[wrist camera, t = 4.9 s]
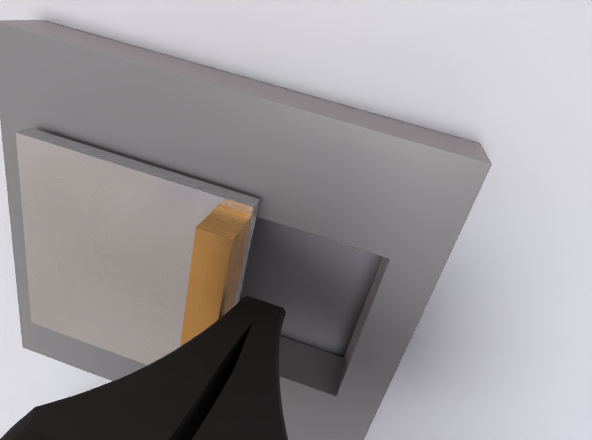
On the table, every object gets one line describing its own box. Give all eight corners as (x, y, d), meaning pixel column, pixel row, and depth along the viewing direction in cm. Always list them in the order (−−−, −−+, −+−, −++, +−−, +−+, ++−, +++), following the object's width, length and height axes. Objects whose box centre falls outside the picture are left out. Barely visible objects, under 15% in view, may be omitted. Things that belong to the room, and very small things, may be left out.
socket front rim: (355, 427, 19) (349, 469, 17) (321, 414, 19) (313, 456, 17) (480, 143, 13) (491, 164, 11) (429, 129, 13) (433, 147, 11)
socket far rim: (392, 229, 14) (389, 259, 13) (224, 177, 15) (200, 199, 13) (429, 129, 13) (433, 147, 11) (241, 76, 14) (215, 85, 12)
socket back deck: (194, 368, 20) (173, 403, 18) (56, 318, 20) (22, 347, 19) (241, 76, 14) (215, 85, 12) (42, 20, 14) (-10, 20, 13)
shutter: (223, 378, 16) (199, 425, 14) (43, 312, 17) (-3, 349, 15) (260, 199, 13) (234, 230, 11) (31, 127, 13) (-30, 145, 12)
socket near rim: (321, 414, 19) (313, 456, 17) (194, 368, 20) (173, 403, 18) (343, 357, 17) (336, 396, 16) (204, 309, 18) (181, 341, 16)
